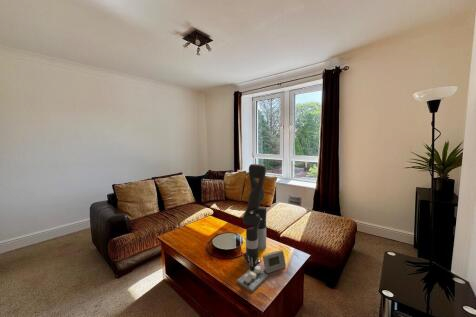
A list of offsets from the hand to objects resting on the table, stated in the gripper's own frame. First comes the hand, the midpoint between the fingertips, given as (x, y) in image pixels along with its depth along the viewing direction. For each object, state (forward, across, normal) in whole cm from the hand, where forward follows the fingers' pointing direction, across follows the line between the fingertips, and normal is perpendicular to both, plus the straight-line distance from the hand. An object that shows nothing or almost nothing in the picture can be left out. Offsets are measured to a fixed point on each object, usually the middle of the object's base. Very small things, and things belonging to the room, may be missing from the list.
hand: (252, 270), depth 123 cm
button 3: (+4, 0, +5) cm, 6 cm away
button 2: (+6, 0, 0) cm, 6 cm away
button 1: (+4, 0, -5) cm, 7 cm away
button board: (+6, 0, 0) cm, 6 cm away
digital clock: (+6, +5, +17) cm, 19 cm away
